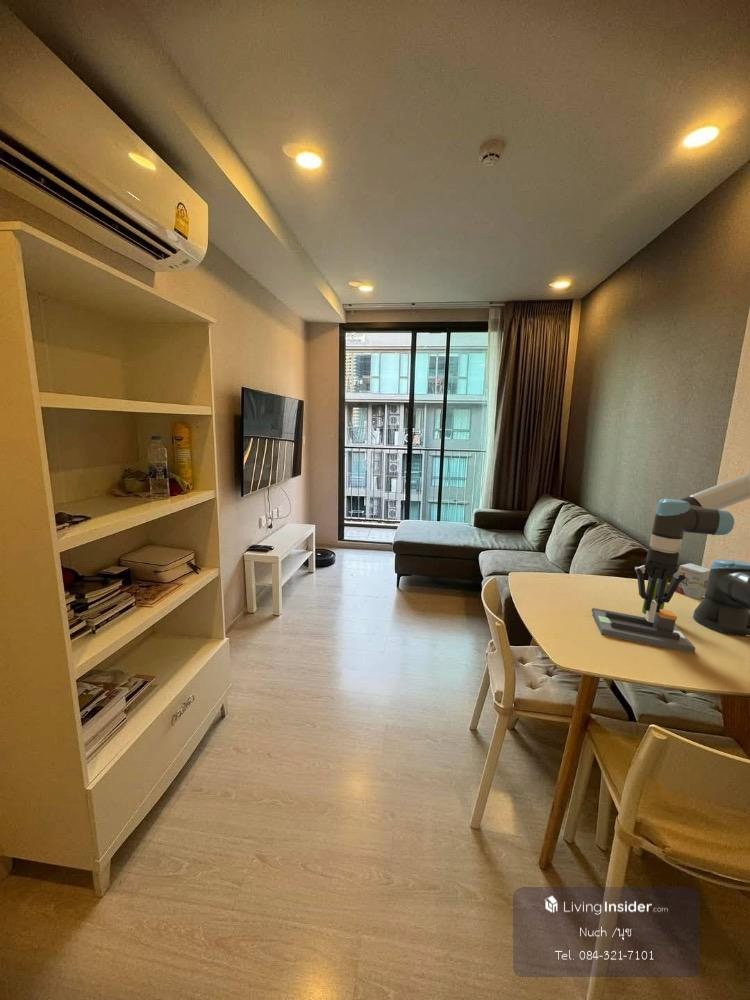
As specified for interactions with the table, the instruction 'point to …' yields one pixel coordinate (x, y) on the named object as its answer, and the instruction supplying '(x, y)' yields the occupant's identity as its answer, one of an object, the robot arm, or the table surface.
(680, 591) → the ink box
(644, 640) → the panel
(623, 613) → the grey twin rods
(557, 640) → the table surface
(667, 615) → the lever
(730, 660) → the table surface
